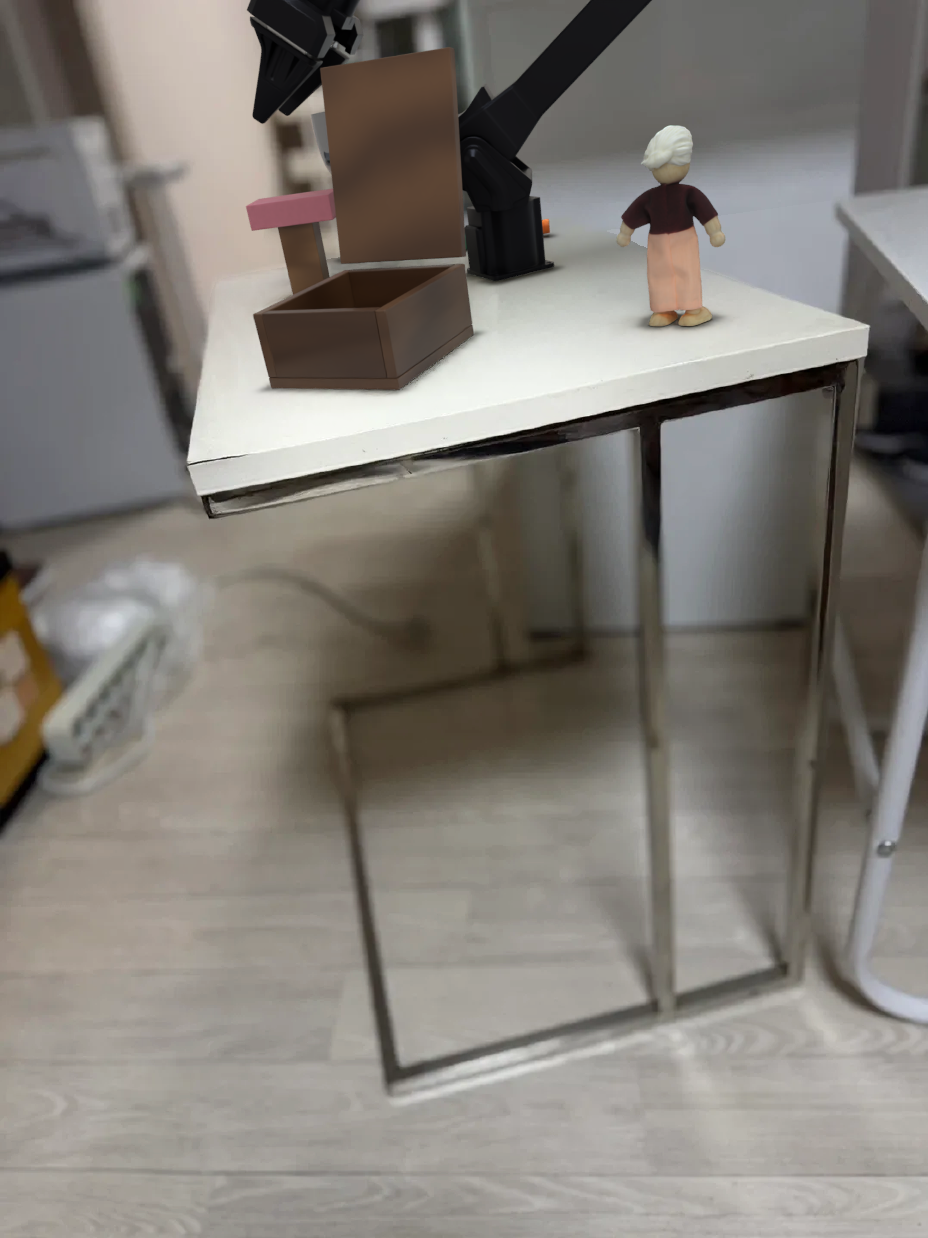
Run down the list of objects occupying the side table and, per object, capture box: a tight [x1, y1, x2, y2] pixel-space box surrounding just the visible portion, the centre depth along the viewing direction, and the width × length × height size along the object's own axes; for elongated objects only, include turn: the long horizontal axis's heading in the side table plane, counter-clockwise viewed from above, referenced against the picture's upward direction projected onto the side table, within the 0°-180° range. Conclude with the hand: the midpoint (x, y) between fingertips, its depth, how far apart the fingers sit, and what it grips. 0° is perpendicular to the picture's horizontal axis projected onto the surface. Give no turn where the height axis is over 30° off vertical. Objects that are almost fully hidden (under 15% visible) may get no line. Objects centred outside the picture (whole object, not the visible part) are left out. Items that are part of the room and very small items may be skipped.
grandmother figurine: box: [615, 125, 726, 327], centre depth 64 cm, size 8×4×13 cm, turn 71°
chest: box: [252, 263, 475, 391], centre depth 67 cm, size 13×11×5 cm
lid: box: [320, 46, 467, 265], centre depth 68 cm, size 13×11×1 cm
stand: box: [277, 222, 331, 295], centre depth 90 cm, size 3×3×7 cm
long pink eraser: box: [245, 188, 336, 232], centre depth 87 cm, size 8×4×2 cm, turn 85°
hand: (271, 117), depth 83 cm, fingers open, 9 cm apart
